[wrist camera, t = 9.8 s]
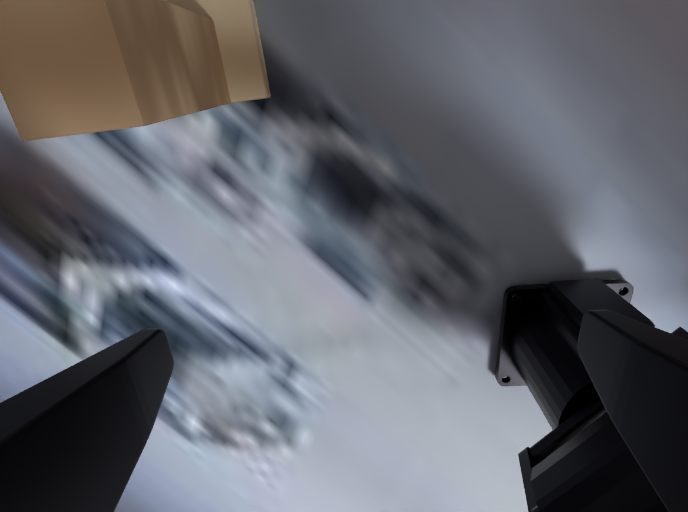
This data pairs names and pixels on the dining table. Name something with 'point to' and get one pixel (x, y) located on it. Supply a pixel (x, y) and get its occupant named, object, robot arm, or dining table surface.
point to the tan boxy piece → (125, 62)
